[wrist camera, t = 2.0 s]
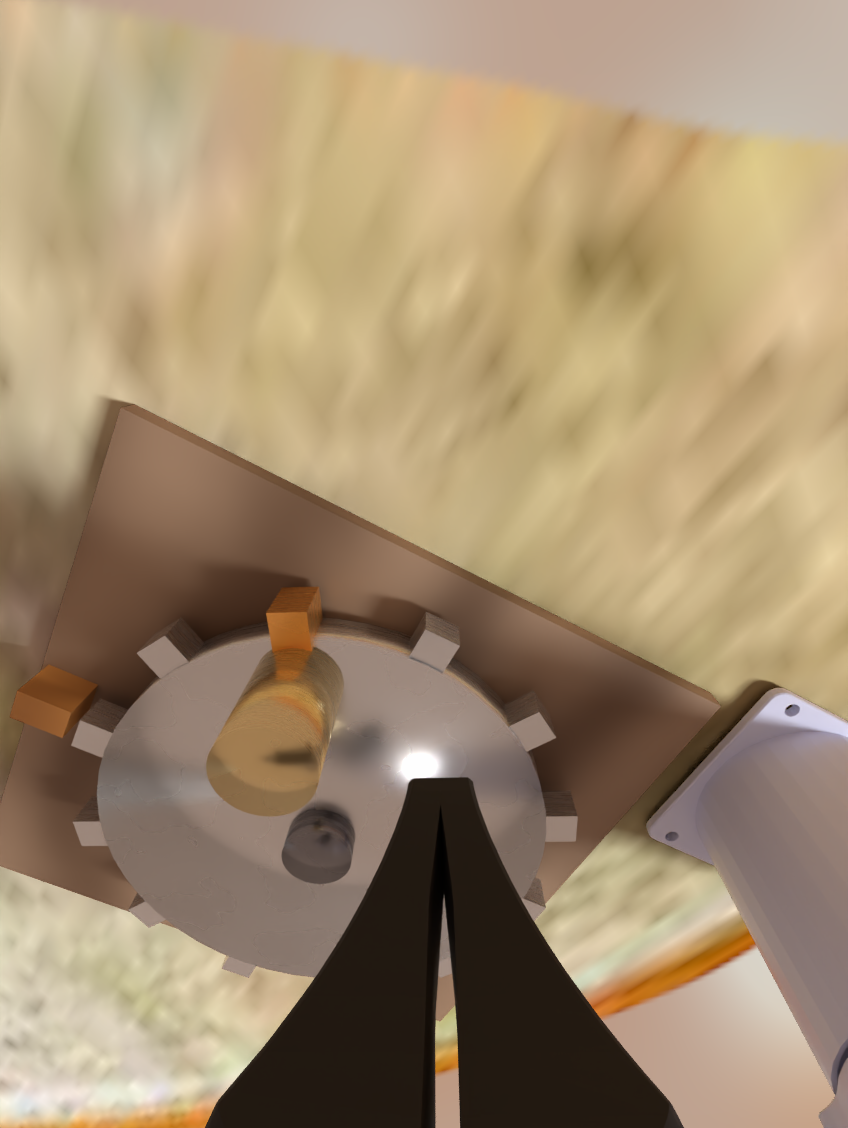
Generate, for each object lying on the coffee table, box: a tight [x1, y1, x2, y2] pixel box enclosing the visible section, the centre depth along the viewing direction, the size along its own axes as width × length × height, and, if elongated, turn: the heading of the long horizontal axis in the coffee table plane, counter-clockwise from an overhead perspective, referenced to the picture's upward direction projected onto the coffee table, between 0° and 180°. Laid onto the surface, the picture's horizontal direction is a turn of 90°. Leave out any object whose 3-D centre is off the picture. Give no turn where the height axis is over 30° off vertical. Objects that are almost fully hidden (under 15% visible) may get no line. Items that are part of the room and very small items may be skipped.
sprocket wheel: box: [71, 587, 578, 978], centre depth 19 cm, size 18×18×6 cm
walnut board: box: [0, 405, 721, 1021], centre depth 21 cm, size 22×21×2 cm
